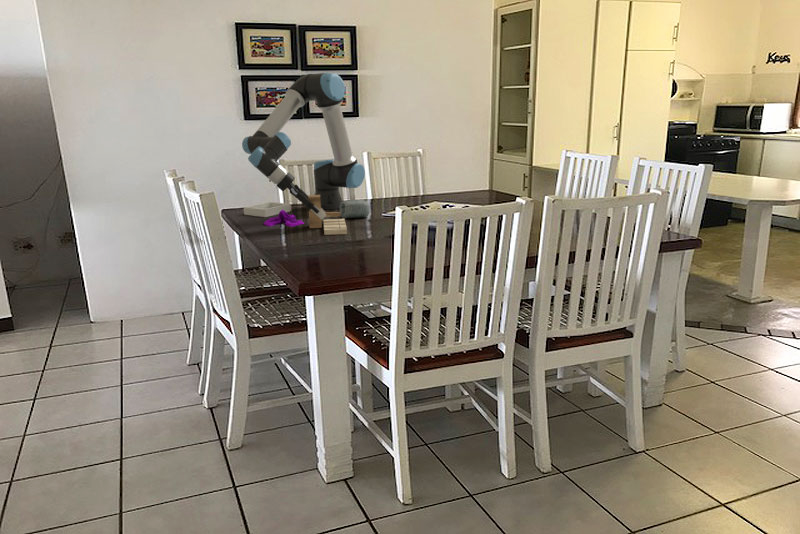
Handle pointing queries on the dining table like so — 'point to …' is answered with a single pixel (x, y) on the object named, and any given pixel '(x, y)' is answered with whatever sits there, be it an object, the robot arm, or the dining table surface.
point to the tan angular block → (313, 218)
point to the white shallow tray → (266, 209)
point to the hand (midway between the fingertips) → (324, 216)
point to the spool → (354, 209)
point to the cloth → (283, 220)
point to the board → (334, 226)
